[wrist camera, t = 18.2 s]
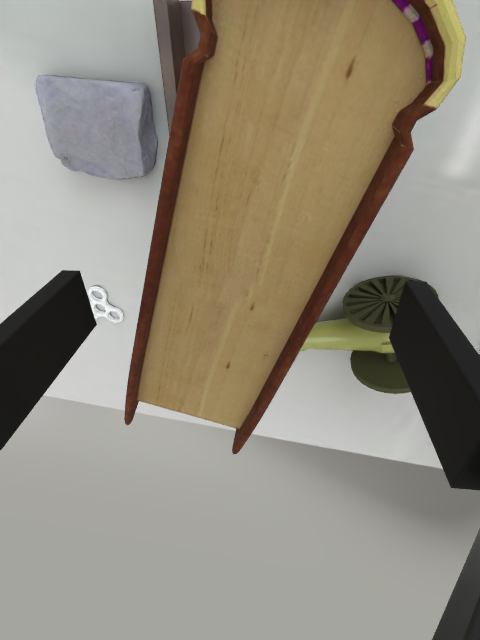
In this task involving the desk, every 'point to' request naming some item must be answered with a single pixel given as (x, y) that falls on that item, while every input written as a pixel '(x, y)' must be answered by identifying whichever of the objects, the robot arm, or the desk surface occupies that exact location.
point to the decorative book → (276, 186)
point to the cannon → (367, 333)
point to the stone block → (99, 125)
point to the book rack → (174, 44)
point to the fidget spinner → (104, 303)
